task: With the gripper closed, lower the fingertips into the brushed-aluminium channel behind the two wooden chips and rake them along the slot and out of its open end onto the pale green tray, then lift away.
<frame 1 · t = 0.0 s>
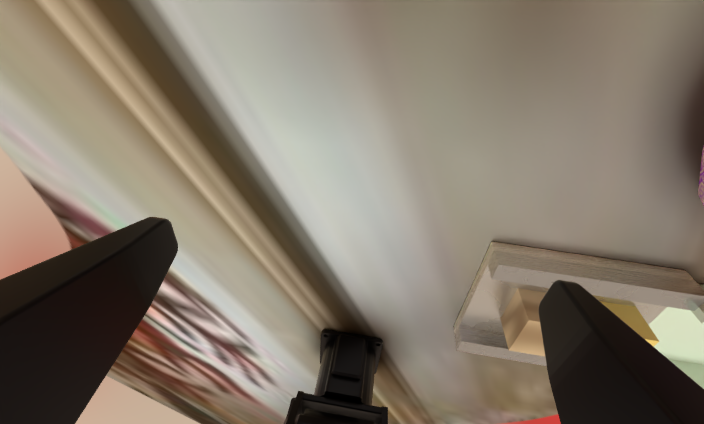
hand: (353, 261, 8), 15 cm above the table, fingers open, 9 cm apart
slot board: (553, 302, 28), on the table
mustard chip: (595, 318, 27), point 1 cm above the table, touching slot board
oak chip: (533, 307, 27), point 1 cm above the table, touching slot board
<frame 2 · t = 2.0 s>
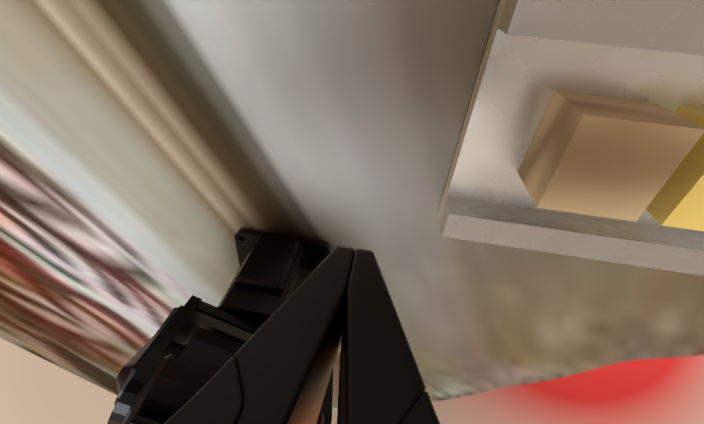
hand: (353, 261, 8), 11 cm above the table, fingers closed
slot board: (614, 137, 16), on the table
mustard chip: (696, 155, 15), point 1 cm above the table, touching slot board
oak chip: (579, 140, 15), point 1 cm above the table, touching slot board
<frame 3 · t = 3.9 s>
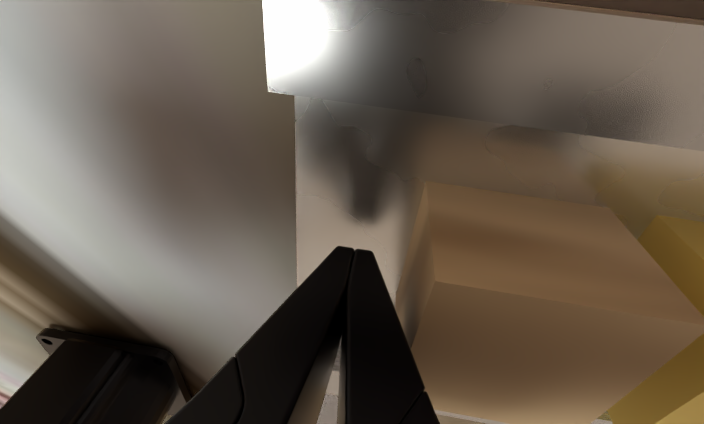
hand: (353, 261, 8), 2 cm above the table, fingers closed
slot board: (551, 245, 9), on the table
mustard chip: (688, 291, 8), point 1 cm above the table, touching slot board
oak chip: (486, 258, 8), point 1 cm above the table, touching gripper
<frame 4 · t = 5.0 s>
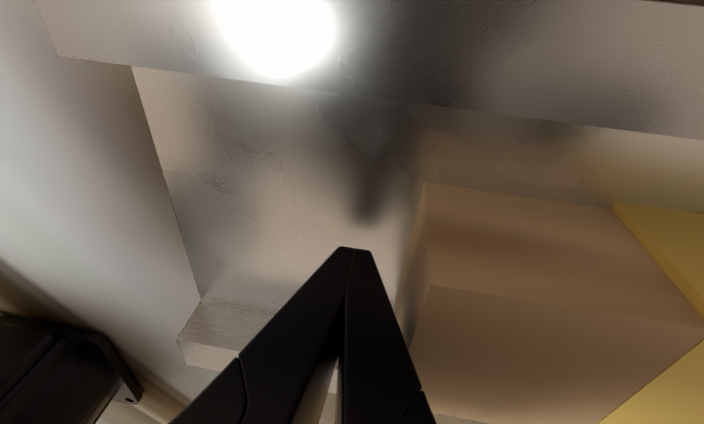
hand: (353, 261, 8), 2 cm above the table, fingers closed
slot board: (431, 223, 9), on the table
mustard chip: (656, 281, 8), point 1 cm above the table, touching slot board
oak chip: (486, 260, 8), point 1 cm above the table, touching gripper, slot board
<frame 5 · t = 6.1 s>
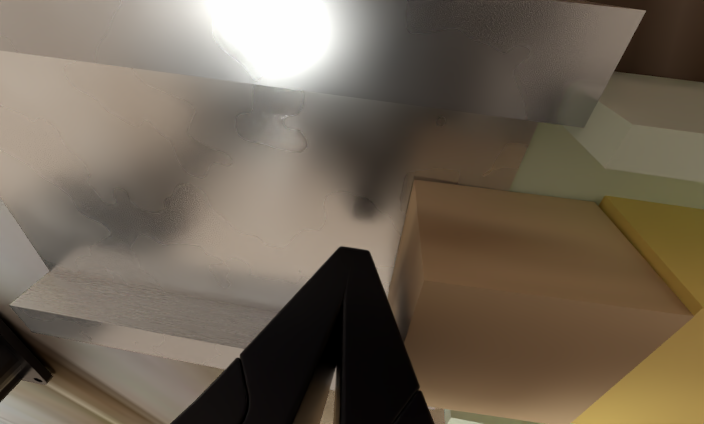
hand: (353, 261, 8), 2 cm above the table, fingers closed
slot board: (236, 192, 10), on the table
mustard chip: (645, 273, 8), point 1 cm above the table
oak chip: (476, 255, 9), point 1 cm above the table, touching gripper, slot board
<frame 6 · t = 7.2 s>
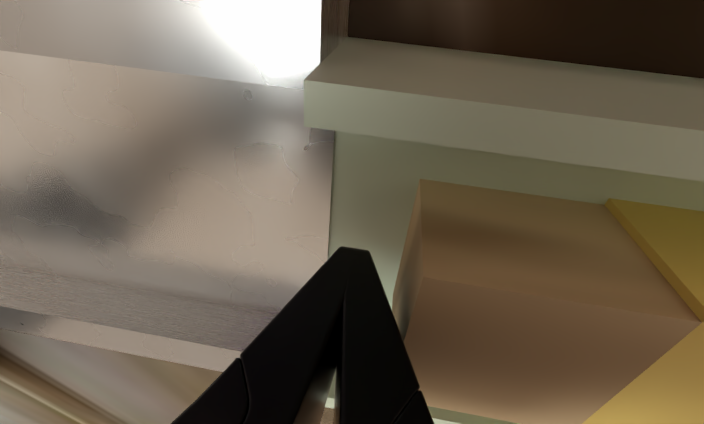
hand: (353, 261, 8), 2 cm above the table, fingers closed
slot board: (107, 173, 10), on the table
tray: (570, 245, 9), on the table
mustard chip: (649, 277, 8), point 1 cm above the table, touching oak chip, tray
oak chip: (481, 256, 8), point 1 cm above the table, touching gripper, mustard chip, tray
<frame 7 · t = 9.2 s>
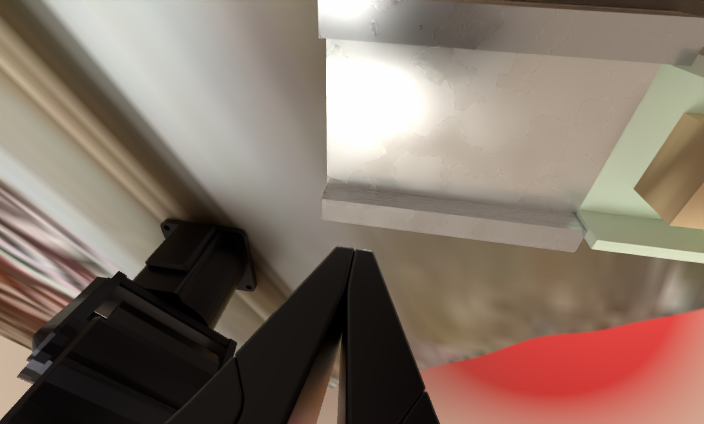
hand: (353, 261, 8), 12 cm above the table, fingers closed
slot board: (462, 125, 17), on the table
oak chip: (702, 158, 15), point 1 cm above the table, touching mustard chip, tray
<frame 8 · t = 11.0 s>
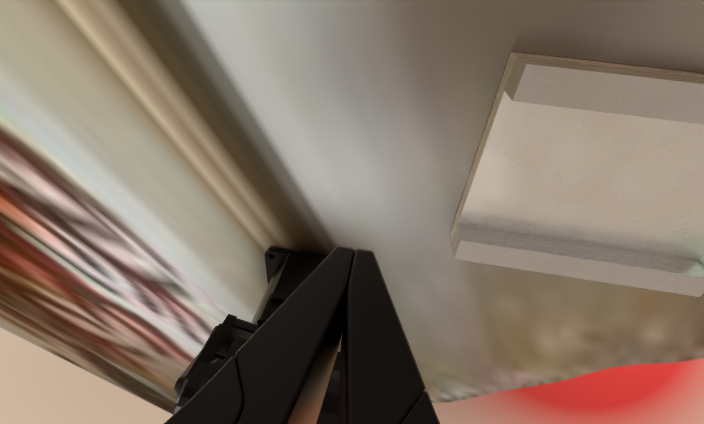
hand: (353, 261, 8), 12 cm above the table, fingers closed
slot board: (603, 175, 18), on the table
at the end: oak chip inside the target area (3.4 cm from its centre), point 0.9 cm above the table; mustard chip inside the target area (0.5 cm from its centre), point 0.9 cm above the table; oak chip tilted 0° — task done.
